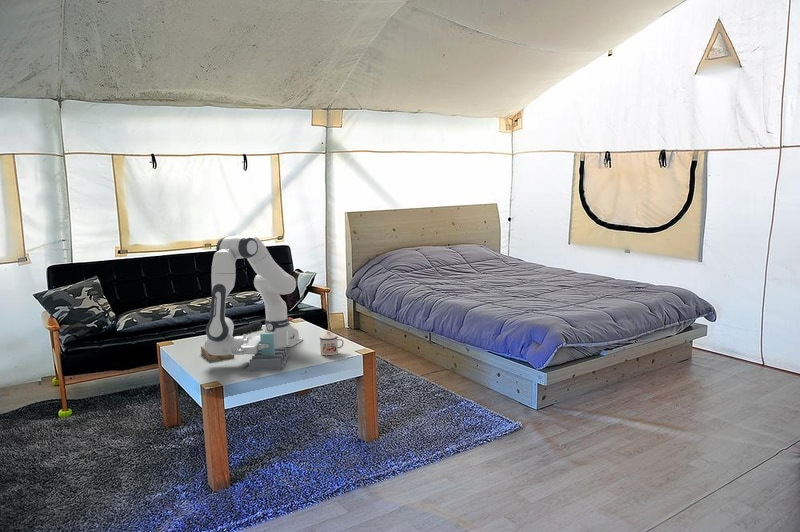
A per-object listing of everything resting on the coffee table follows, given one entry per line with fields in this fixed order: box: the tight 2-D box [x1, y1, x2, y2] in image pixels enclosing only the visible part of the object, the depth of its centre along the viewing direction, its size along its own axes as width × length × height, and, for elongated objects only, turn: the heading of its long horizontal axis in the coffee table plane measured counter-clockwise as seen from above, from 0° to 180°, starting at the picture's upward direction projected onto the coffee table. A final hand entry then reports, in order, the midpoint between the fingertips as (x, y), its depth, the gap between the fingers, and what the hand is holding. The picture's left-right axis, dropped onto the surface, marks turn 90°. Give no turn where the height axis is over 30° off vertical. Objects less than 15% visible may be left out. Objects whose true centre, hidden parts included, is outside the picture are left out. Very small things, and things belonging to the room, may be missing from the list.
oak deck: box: [200, 345, 235, 362], centre depth 296 cm, size 12×16×4 cm
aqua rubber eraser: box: [259, 332, 275, 355], centre depth 280 cm, size 2×6×12 cm, turn 93°
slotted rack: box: [247, 347, 289, 371], centre depth 281 cm, size 20×16×5 cm
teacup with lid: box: [319, 330, 345, 357], centre depth 294 cm, size 12×9×12 cm
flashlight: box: [233, 320, 263, 336], centre depth 341 cm, size 5×21×5 cm, turn 148°
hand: (269, 344), depth 280 cm, fingers closed on aqua rubber eraser, 2 cm apart
